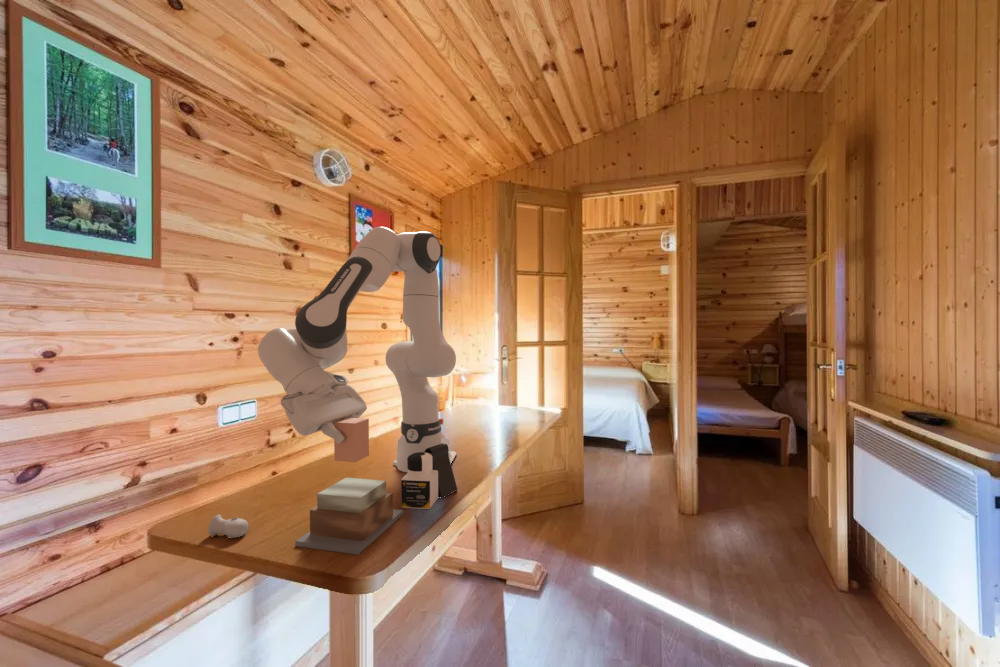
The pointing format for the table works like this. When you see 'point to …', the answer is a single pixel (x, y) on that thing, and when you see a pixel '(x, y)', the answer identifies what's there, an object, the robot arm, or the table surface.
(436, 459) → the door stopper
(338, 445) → the terracotta brick
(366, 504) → the brick tower
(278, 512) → the table surface
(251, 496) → the table surface
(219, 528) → the smooth white sculpture
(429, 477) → the medicine bottle
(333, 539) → the base plate
